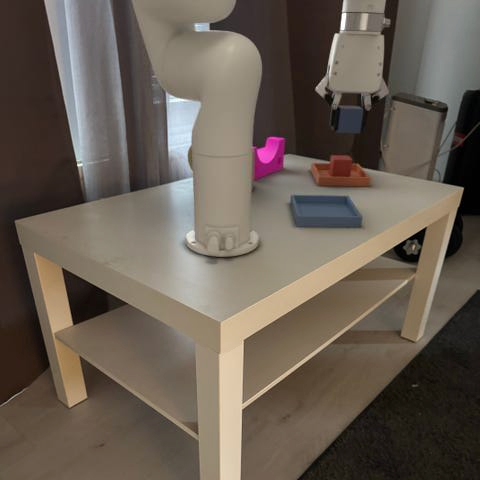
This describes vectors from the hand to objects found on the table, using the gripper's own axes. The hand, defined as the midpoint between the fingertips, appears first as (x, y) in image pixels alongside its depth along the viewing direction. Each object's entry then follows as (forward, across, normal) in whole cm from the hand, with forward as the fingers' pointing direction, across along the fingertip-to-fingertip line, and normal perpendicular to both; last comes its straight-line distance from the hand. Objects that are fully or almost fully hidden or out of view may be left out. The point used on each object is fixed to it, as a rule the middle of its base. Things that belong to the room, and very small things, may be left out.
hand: (346, 129), depth 98 cm
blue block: (0, 0, 0) cm, 0 cm away
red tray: (+14, -4, -17) cm, 22 cm away
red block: (+14, -4, -17) cm, 22 cm away
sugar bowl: (+15, +25, -6) cm, 29 cm away
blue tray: (+15, +5, +10) cm, 18 cm away
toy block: (+15, +17, -21) cm, 31 cm away
